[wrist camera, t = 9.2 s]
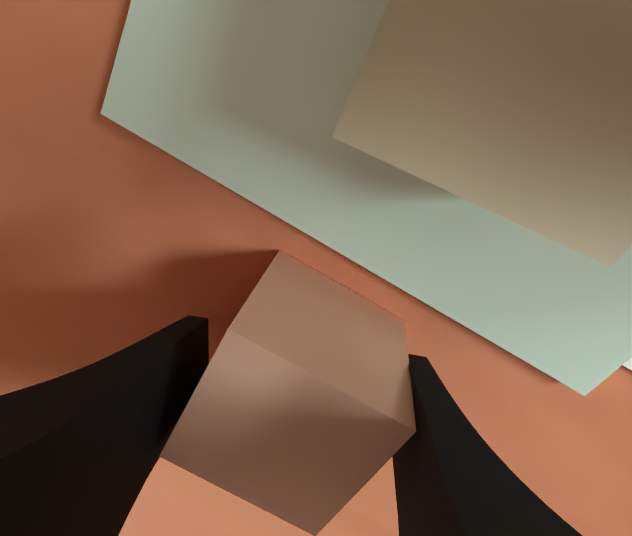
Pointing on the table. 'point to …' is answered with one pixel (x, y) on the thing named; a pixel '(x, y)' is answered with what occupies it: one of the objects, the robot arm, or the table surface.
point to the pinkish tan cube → (299, 398)
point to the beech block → (508, 110)
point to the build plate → (355, 174)
